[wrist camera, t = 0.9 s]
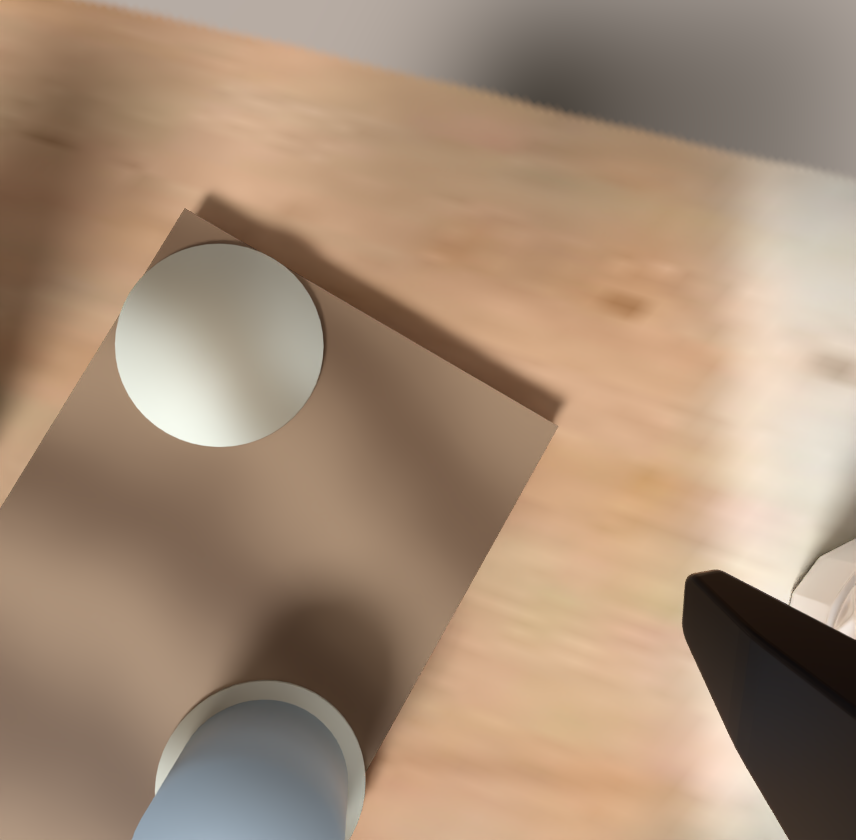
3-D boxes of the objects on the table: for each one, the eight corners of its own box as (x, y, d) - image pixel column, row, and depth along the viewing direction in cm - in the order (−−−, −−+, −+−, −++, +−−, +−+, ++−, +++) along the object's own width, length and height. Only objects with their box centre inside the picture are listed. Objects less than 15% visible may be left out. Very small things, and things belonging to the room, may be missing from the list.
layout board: (261, 978, 22) (255, 1009, 21) (-144, 767, 21) (-175, 787, 20) (563, 434, 23) (574, 434, 22) (193, 218, 22) (182, 206, 21)
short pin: (292, 905, 21) (275, 1015, 17) (139, 824, 20) (83, 917, 16) (379, 750, 21) (382, 821, 17) (229, 668, 21) (196, 721, 17)
